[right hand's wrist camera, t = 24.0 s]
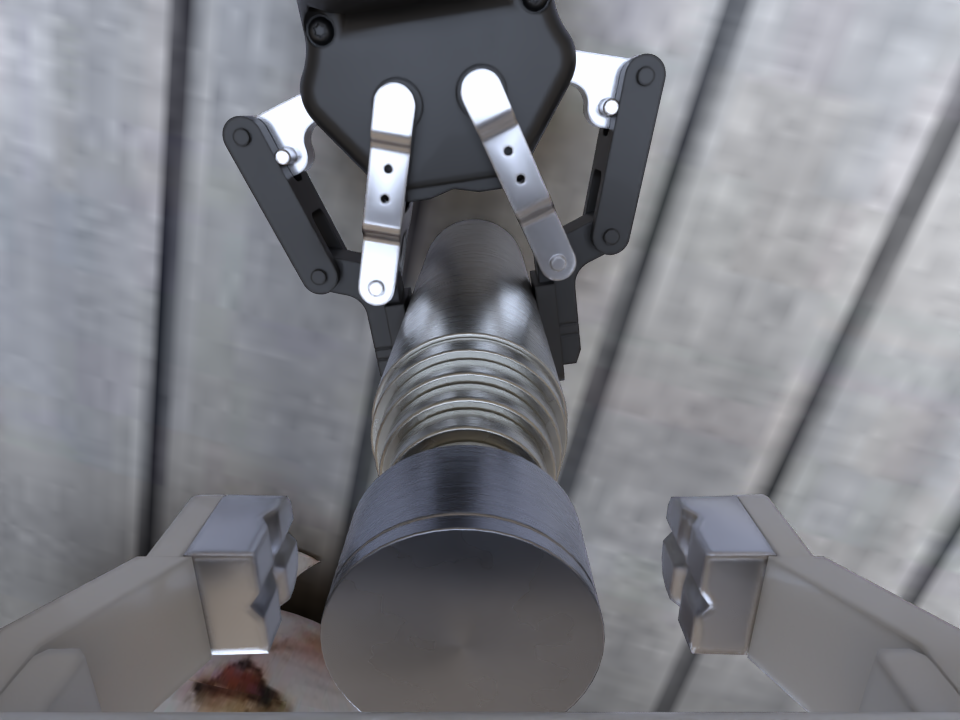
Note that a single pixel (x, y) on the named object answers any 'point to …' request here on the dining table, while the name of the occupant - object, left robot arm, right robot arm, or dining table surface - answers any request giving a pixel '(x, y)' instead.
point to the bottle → (471, 358)
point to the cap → (463, 590)
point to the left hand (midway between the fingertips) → (484, 380)
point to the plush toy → (266, 675)
